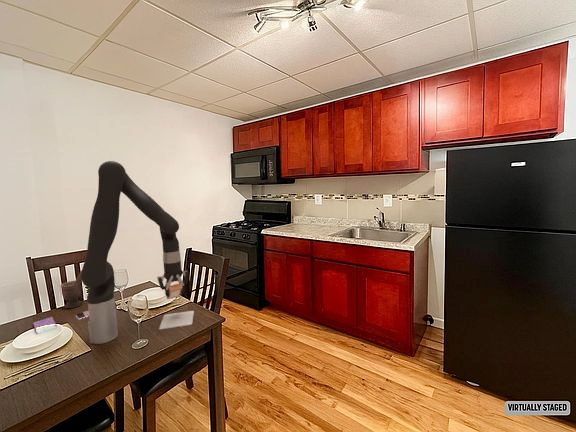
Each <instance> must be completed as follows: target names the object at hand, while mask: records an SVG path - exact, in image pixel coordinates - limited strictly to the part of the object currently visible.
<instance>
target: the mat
mask: <svg viewBox="0 0 576 432" xmlns="http://www.w3.org/2000/svg"><path fill="white" fill-rule="evenodd" d="M194 314H195V310H190V311H189V310H188V311H182V312H174V313H168V314H164V315H163V317H162V320H161V323H160V325H159V328H158V330H160V331H162V330H168V329H173V328H181V327H187V326H192V325H193V320H194Z"/></svg>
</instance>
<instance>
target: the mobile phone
mask: <svg viewBox="0 0 576 432" xmlns="http://www.w3.org/2000/svg"><path fill="white" fill-rule="evenodd" d="M88 316H89V310H86V311H82V312H79V313H76V314H75V317H76V319H77V318H78V319H77V320H82V318H83V319H86V318H89V317H88ZM85 317H86V318H85Z"/></svg>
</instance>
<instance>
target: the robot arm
mask: <svg viewBox="0 0 576 432" xmlns="http://www.w3.org/2000/svg"><path fill="white" fill-rule="evenodd" d="M97 172H98V173H97V174H98V185H97V186H98V189H97V197H96V200H95V203H94V206H93V209H92V214H91V217H90V222H89V224H90V225H89V234H88V241H87V250H86V253H85V254H86V255H85V259H84V262H83V265H82V269H81V270H82V272H81V271H80V272H81V280H80V281H81V283H82V284H83V286H85V287H88V288H89V290H88V294H87V296H86V302H87V309H88V310H89V317H88V318H89V320H88V321H87V329H88V337H89V344H95V345H99V344H105V343H109V342H111V341H113V340H114V339H116V338H117V337H118V336H119V329H118V321H117V311H116V303H115V301H116V300H115V290H116V284H115V282H116V281H115V280H116V279H115V270H114V267H113V265H112V264H111V263H110V262H109V261H108V256H109V252H110V249H111V248H112V245H113V243H114V242H115V241H114V240H115V238H116V235H117V232H118V227H119V219H120V199H121V198H120V196H121V193H122V194H124V195H125V196H126V197H127V198H128V200H130V202H132V203H133V204H134V206H135V207H136V208H137V209H138V210H139V211H140V212H141V213H143V215H144V216H146V217H147V218H148V219H150V220H151V221H152V222H153V223H155V224H156V225H157V226H159V232H160V233H159V234H160V238H161V241H162V262H163V272H164V273H163V275H161V276H157V282H158V285H159V288H160V289H161V290H162V291H163V290H164V293H165V297H166V296H167V297H170V293H169V286H171V284H172V283H174V282H178V284H179V283H181V285H182V290H181V292H180V294H181V295H182V294H184V292H185V288H184V286H185V285H186V284H188V281H189V275H190V274H189V270H183V269H182V258H181V253H180V252H181V251H180V243H179V239H178V238H177V232H178V231H179V230H180V224H179V222H178V221H177V220H176V219H175V218H174V217H173V216H172V215H171V214H169V213H168V212H167V211H165V210H164V208H163V207H161V205H159V204H158V202H157V201H156V200H155V199H153V198H152V197H151V196H150V195H149V194H148V193H146V192H145V191H144V190H143V189H141V188H140V187H139V186H138V185H137V184H136V183H135V182H134V181H133V180H132V178H131V177H130V175H128V173H127V172H126V169H125V167H124V166H123V164H121V163H119V162H118V161H115V160H108V161H105V162H103V163H101V164H100V166H99V167H98V171H97ZM182 275H183V279H182V278H181V277H182ZM164 279H165V285H164ZM167 297H166V298H167ZM88 310H87V311H88Z"/></svg>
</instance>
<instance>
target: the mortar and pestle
mask: <svg viewBox="0 0 576 432" xmlns="http://www.w3.org/2000/svg"><path fill="white" fill-rule="evenodd" d="M81 272H82V269H81V270H80V271H79V274H78V275H77V277H76V279H75V280H72V281H66V282H63V283H62V284H60V289H61V295H62V298H63V299H64V300H65V301H67V302H66V304H65V305H64V309H65V308H72V309H75V307H76V308H79V307H80V306H82V304H83V303H82V301H81V300H79V298H80V297H81V295H82V290H83V289H82V280H81ZM72 304H73V305H72Z"/></svg>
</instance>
